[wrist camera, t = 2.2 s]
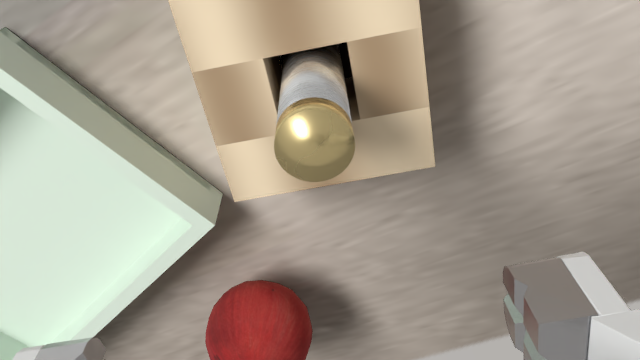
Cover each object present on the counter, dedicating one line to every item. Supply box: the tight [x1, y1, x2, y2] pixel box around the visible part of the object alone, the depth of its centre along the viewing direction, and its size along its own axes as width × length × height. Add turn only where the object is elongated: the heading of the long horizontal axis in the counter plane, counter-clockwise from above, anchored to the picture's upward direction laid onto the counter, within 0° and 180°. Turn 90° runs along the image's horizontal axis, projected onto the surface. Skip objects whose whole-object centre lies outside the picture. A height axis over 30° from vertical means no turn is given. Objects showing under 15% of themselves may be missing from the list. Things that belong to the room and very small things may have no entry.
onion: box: [206, 280, 312, 360], centre depth 30 cm, size 6×6×8 cm
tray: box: [0, 27, 223, 360], centre depth 30 cm, size 18×13×3 cm
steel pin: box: [274, 44, 355, 182], centre depth 22 cm, size 3×3×10 cm
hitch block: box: [168, 0, 435, 202], centre depth 24 cm, size 9×9×5 cm
